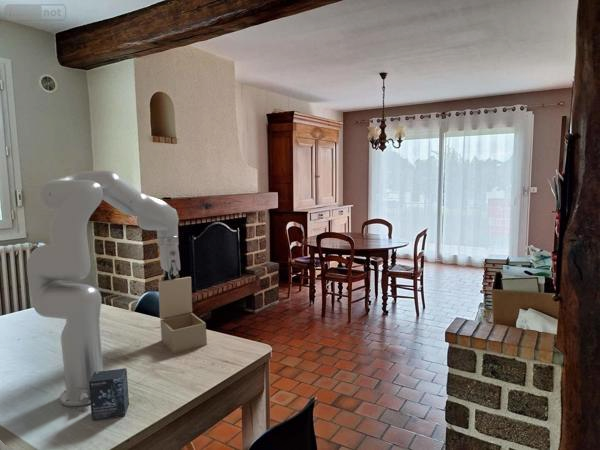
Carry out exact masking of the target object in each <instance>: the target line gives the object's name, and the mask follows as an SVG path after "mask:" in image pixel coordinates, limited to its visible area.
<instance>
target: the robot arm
mask: <svg viewBox="0 0 600 450" xmlns="http://www.w3.org/2000/svg"><path fill="white" fill-rule="evenodd" d="M38 193H39V201H40V202H41V204H42V205H43V207H44V208H46V209H48V210H50V211H53V212H55V214H54V215H53V217H52V219H51V220H50V224H49V239H50V244H43V245H40V246H37V247H36V248H35V249H33V250H32V252H31V253H30V255H29V256H28V258H27V262H26V271H27V278H28V279H27V280H28V285H29V290H30V291H29V292H30V297H31V302H32V303H31V304H32V306H33V309H34V310H35V312H36V313H37V314H38V315H40V316H41V317H44V318H51V319H63V320H66V322H65V325H64V327H63V329H62V331H61V335H60V342H61V343H60V345H61V351H62V352H61V353H62V362H63V364H62V365H63V372H64V381H65V389H64V390H63V391H62V392H61V394H60V396H59V398H60V399H59V400H60V402H61V403H60V404H62V405H64V406H67V407H80V406H86V405H89V404H90V405H91V401H90V389H89V381H90V379H91V377H92V376H93V374H94V372H96V371H104V361H103V350H102V348H103V347H102V338H101V325H100V324H101V322H100V321H101V320H100V318H101V308H102V295H101V292H100V291H99V290H98V288H96V287H94V286H92V285H89V284H84V283H69V281H71V282H72V281H73V282H74V281H79V280H83V279H85V278H87V277H88V275H89V273H90V272H91V257H90V248H89V239H88V231H87V228H88V223H89V221H90V218H91V216H92V215H93V213H94V212H95V211H96V209H97V208H98V207H99V206H100V204H101V203H102V201H104V202H105V203H107V204H108V205H111V206H112V207H113V208H115V209H116V210H117V211H119V212H121V213H123V214H124V215H129V216H132V217H136V224H137V226H138V227H139V228H140V229H142V230H143V231H145V230H146V231H156V235H157V237H156V238H157V240H156V241H157V246H158V247H159V259H160V260H159V262H160V267H161V269H162V272H163V281H167V280H173V279H178V272H179V271H181V260H180V251H179V247H178V246H179V244H180V243H179V242H180V241H179V229H178V228H179V222H180V221H179V220H180V219H179V215H178V211H177V210H176V208H173V207H172V206H171V205H170V204H168V203H167V202H166V201H164V200H162V199H160V198H159V199H158V198H156V197H154V196H151V195H149V194H146V193H144V192H141V191H138V189H136V188H135V187H134V186H132V185H131V184H130V183H128V181H126V180H125V179H123V178H122V177H121V176H120V175H118V174H117V173H115V172H113V171H110V170H87V171H80V172H76V173H72V174H69V175H65V176H62V177H58V178H55V179H51V180H49V181H46V183H44V184H43V185H42V186H41V188H40V190H39V192H38ZM63 281H67V283H66V282H63Z"/></svg>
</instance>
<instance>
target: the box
mask: <svg viewBox="0 0 600 450" xmlns="http://www.w3.org/2000/svg"><path fill="white" fill-rule="evenodd" d="M128 383H129V382H128V371H127V368H126V367H125V368H117V369H116V368H115V369H109V370H108V369H107V370H103V371H96V372H94V374H93V376H92V377H91V379H90V381H89V389H90V401H91V403H90V411H91V421H97V420H106V419H111V418H112V419H113V418H121V417H122V418H123V417H125V416H126V414H127V412H128V408H129V406H130V399H129V384H128Z"/></svg>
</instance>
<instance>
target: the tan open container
mask: <svg viewBox="0 0 600 450" xmlns="http://www.w3.org/2000/svg"><path fill="white" fill-rule="evenodd" d="M159 323H160V332H161V333H160V335H161V342H162V343H163V344H165V346H166V347H167V348H168V349H169V351H171V353H172V354H173V355H174V354H179V353H181V352H184V351H189V350H192V349H197V348H199V347H204V346H206V345H208V342H207V340H208V339H207V324H206V322H205V321H204V320H202V319H201V318H199V317H198V316H196V314H195V313H193V312H190V313H185V314H180V315H176V316H171V317H167V318H162V319H160V321H159Z"/></svg>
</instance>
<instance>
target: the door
mask: <svg viewBox="0 0 600 450" xmlns="http://www.w3.org/2000/svg"><path fill="white" fill-rule="evenodd" d="M192 294H193V293H192V277H191V276H185V277H181V278H180V277H179V278H177V279H173V280H167V281H164V280H162V281H161V280H160V281H158V303H159V304H158V305H159V306H158V307H159V319H160V320H161V319H166V318H170V317H175V316H180V315H184V314H189V313H193V300H192V299H193V295H192Z"/></svg>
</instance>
